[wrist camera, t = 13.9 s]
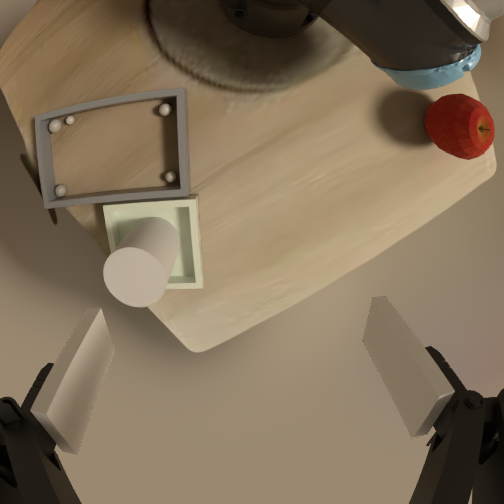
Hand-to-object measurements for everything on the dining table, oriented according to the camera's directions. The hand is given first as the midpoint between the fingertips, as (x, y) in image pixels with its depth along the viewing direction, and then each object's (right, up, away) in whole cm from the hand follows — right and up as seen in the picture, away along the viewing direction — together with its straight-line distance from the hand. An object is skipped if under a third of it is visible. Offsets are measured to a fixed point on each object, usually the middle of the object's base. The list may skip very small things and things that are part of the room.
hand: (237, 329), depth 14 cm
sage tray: (-14, +5, +32) cm, 36 cm away
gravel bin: (-20, +19, +26) cm, 38 cm away
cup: (-14, +5, +32) cm, 35 cm away
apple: (+32, +25, +27) cm, 49 cm away
